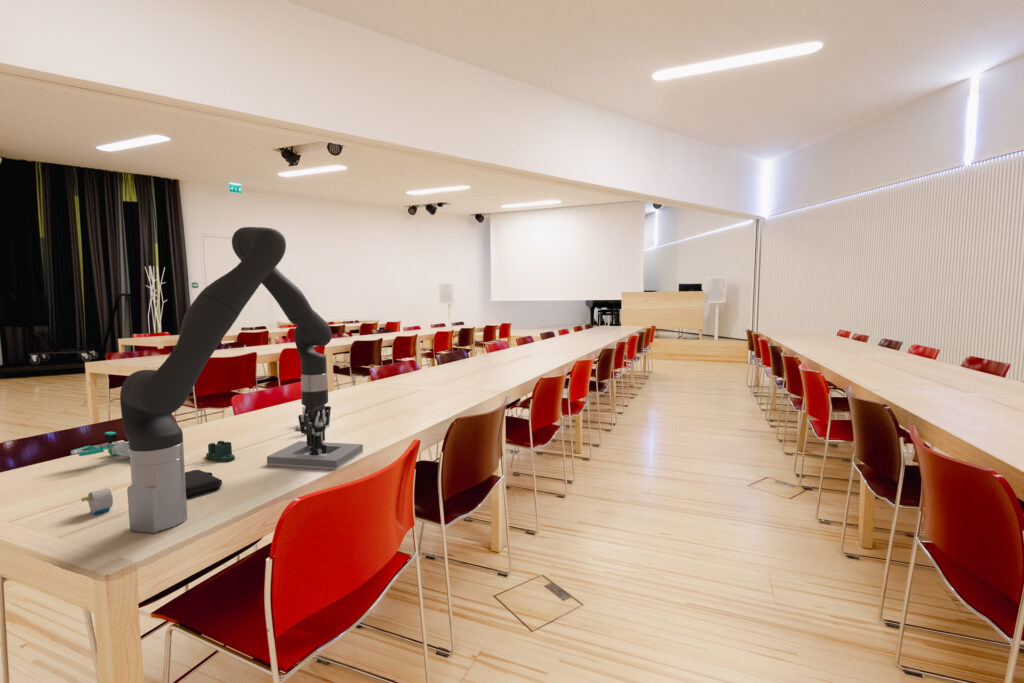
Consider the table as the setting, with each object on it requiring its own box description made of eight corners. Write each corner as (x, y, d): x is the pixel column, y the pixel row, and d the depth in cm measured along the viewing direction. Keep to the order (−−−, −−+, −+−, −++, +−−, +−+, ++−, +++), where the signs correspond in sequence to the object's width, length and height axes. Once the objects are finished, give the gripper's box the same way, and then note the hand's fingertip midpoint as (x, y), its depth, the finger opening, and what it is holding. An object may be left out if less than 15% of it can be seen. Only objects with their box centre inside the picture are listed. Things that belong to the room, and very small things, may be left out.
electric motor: (78, 512, 108) (76, 491, 108) (104, 505, 112) (103, 484, 112) (88, 520, 104) (86, 498, 104) (115, 512, 108) (114, 491, 108)
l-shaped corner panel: (304, 425, 188) (303, 406, 187) (329, 427, 184) (329, 408, 183) (280, 433, 176) (280, 413, 176) (307, 436, 172) (306, 415, 172)
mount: (239, 459, 146) (238, 443, 145) (225, 463, 141) (224, 447, 141) (215, 454, 150) (214, 438, 149) (201, 458, 146) (200, 442, 145)
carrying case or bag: (230, 488, 123) (205, 476, 132) (229, 476, 123) (204, 465, 132) (182, 502, 115) (159, 488, 123) (182, 489, 114) (158, 476, 123)
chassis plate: (336, 469, 136) (336, 460, 136) (267, 464, 140) (266, 456, 140) (362, 452, 152) (362, 444, 152) (299, 448, 156) (299, 441, 155)
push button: (311, 459, 141) (310, 426, 140) (300, 456, 144) (299, 423, 143) (330, 453, 147) (329, 421, 146) (319, 450, 149) (318, 419, 148)
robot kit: (59, 469, 137) (57, 437, 136) (152, 445, 160) (150, 417, 159) (99, 478, 130) (96, 444, 129) (190, 451, 153) (188, 422, 153)
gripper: (312, 393, 136) (314, 451, 138) (338, 384, 151) (339, 437, 152) (288, 392, 138) (290, 449, 139) (316, 384, 152) (318, 436, 153)
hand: (316, 443), depth 145 cm, fingers closed on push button, 4 cm apart
